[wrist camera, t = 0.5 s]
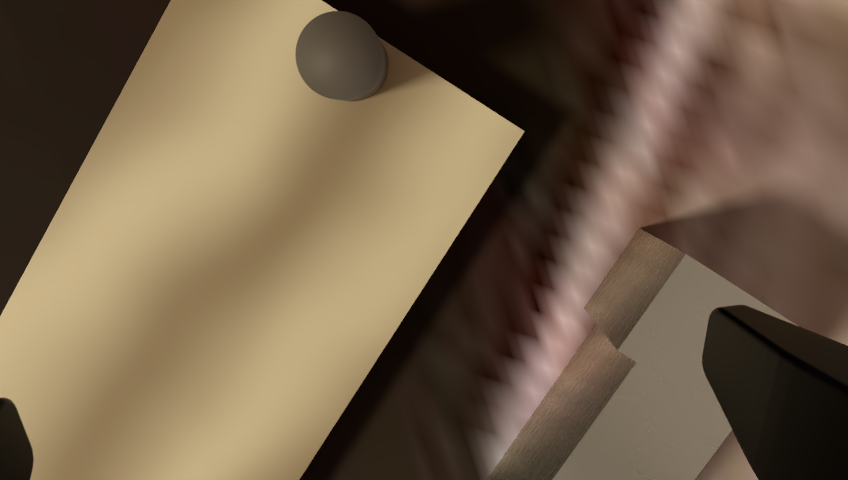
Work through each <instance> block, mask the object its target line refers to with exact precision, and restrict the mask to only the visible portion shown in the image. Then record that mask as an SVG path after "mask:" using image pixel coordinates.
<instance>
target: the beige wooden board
mask: <svg viewBox="0 0 848 480" xmlns="http://www.w3.org/2000/svg"><path fill="white" fill-rule="evenodd" d="M523 133H524V131H523V130H522V129H520V128H519V127H517V126H516V125H514V124H513V123H511V122H509V121H508V120H506V119H505V118H503V117H502V116H500V115H499V114H497V113H496V112H494V111H492V110H491V109H489V108H488V107H486V106H485V105H483V104H482V103H480V102H478V101H477V100H475V99H474V98H472V97H471V96H469V95H468V94H466V93H465V92H463V91H461V90H460V89H458V88H457V87H455V86H454V85H452V84H451V83H449V82H447V81H446V80H444V79H443V78H441V77H440V76H438V75H437V74H435V73H434V72H432V71H430V70H429V69H427V68H426V67H424V66H423V65H421V64H420V63H418V62H416V61H415V60H413V59H412V58H410V57H409V56H407V55H406V54H404V53H403V52H401V51H399V50H398V49H396V48H395V47H393V46H392V45H390V44H389V43H387V42H386V41H384V40H382V39H381V38H379V37H378V36H377V35H376V33H375V32H374V30H373V29H372V28H371V26H370V25H369V24H368V23H367V22H366V21H364V20H363V19H362V18H360V17H358V16H357V15H355V14H352V13H349V12H345V11H337V10H336V9H334V8H333V7H331V6H330V5H328V4H327V3H325V2H324V1H322V0H171V1H170V3H169V5H168V7H167V9H166V11H165V12H164V14H163V16H162V18H161V20H160V22H159V24H158V25H157V27H156V29H155V31H154V33H153V35H152V36H151V38H150V40H149V42H148V44H147V46H146V48H145V49H144V51H143V53H142V55H141V57H140V59H139V61H138V62H137V64H136V66H135V68H134V70H133V72H132V74H131V75H130V77H129V79H128V81H127V83H126V85H125V86H124V88H123V90H122V92H121V94H120V96H119V98H118V99H117V101H116V103H115V105H114V107H113V109H112V111H111V112H110V114H109V116H108V118H107V120H106V122H105V124H104V125H103V127H102V129H101V131H100V133H99V135H98V136H97V138H96V140H95V142H94V144H93V146H92V148H91V149H90V151H89V153H88V155H87V157H86V159H85V161H84V162H83V164H82V166H81V168H80V170H79V172H78V174H77V175H76V177H75V179H74V181H73V183H72V185H71V187H70V188H69V190H68V192H67V194H66V196H65V198H64V199H63V201H62V203H61V205H60V207H59V209H58V211H57V212H56V214H55V216H54V218H53V220H52V222H51V224H50V225H49V227H48V229H47V231H46V233H45V235H44V237H43V238H42V240H41V242H40V244H39V246H38V248H37V249H36V251H35V253H34V255H33V257H32V259H31V261H30V262H29V264H28V266H27V268H26V270H25V272H24V274H23V275H22V277H21V279H20V281H19V283H18V285H17V287H16V288H15V290H14V292H13V294H12V296H11V298H10V299H9V301H8V303H7V305H6V307H5V309H4V311H3V312H2V314H1V316H0V398H2V397H5V398H8V399H10V400H12V402H13V403H14V404H15V406H16V408H17V410H18V413H19V415H20V418H21V420H22V423H23V425H24V428H25V431H26V433H27V436H28V438H29V441H30V443H31V446H32V449H33V457H34V462H33V470H32V474H31V479H30V480H299V479H300V478H301V476H302V475H303V473H304V472H305V470H306V469H307V467H308V465H309V464H310V462H311V461H312V459H313V458H314V456H315V455H316V453H317V452H318V450H319V448H320V447H321V445H322V444H323V442H324V441H325V439H326V438H327V436H328V435H329V433H330V431H331V430H332V428H333V427H334V425H335V424H336V422H337V421H338V419H339V418H340V416H341V414H342V413H343V411H344V410H345V408H346V407H347V405H348V404H349V402H350V401H351V399H352V397H353V396H354V394H355V393H356V391H357V390H358V388H359V387H360V385H361V384H362V382H363V380H364V379H365V377H366V376H367V374H368V373H369V371H370V370H371V368H372V367H373V365H374V363H375V362H376V360H377V359H378V357H379V356H380V354H381V353H382V351H383V349H384V348H385V346H386V345H387V343H388V342H389V340H390V339H391V337H392V336H393V334H394V332H395V331H396V329H397V328H398V326H399V325H400V323H401V322H402V320H403V319H404V317H405V315H406V314H407V312H408V311H409V309H410V308H411V306H412V305H413V303H414V302H415V300H416V298H417V297H418V295H419V294H420V292H421V291H422V289H423V288H424V286H425V285H426V283H427V281H428V280H429V278H430V277H431V275H432V274H433V272H434V271H435V269H436V268H437V266H438V264H439V263H440V261H441V260H442V258H443V257H444V255H445V254H446V252H447V251H448V249H449V247H450V246H451V244H452V243H453V241H454V240H455V238H456V237H457V235H458V234H459V232H460V230H461V229H462V227H463V226H464V224H465V223H466V221H467V220H468V218H469V216H470V215H471V213H472V212H473V210H474V209H475V207H476V206H477V204H478V203H479V201H480V199H481V198H482V196H483V195H484V193H485V192H486V190H487V189H488V187H489V186H490V184H491V182H492V181H493V179H494V178H495V176H496V175H497V173H498V172H499V170H500V169H501V167H502V165H503V164H504V162H505V161H506V159H507V158H508V156H509V155H510V153H511V152H512V150H513V148H514V147H515V145H516V144H517V142H518V141H519V139H520V138H521V136H522V135H523Z"/></svg>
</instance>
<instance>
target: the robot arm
mask: <svg viewBox="0 0 848 480" xmlns="http://www.w3.org/2000/svg"><path fill="white" fill-rule="evenodd" d="M702 365H703V370H704V373H705V376H706V378H707V380H708V382H709V384H710V386H711V388H712V390H713V392H714V394H715V396H716V398H717V400H718V402H719V404H720V406H721V408H722V410H723V412H724V414H725V416H726V418H727V420H728V422H729V424H730V426H731V428H732V430H733V432H734V434H735V436H736V438H737V440H738V442H739V444H740V446H741V449H742V451H743V453H744V454H745V456H746V458H747V460H748V462H749V464H750V466H751V468H752V469H753V471H754V473H755V474H756V476H757V478H758V479H759V480H848V346H847V345H844V344H842V343H839V342H837V341H834V340H832V339H829V338H827V337H824V336H822V335H819V334H817V333H814V332H812V331H809V330H806V329H804V328H801V327H799V326H796V325H794V324H791V323H789V322H786V321H784V320H781V319H779V318H776V317H774V316H771V315H769V314H766V313H764V312H761V311H759V310H756V309H754V308H751V307H749V306H746V305H733V306H725V307H718V308H715V309H714V310H713V311H712V312H711V314H710V316H709V320H708V325H707V331H706V337H705V342H704V348H703V354H702ZM33 462H34V457H33V449H32V446H31V443H30V441H29V438H28V436H27V433H26V431H25V428H24V425H23V423H22V420H21V418H20V415H19V413H18V410H17V408H16V406H15V404H14V403H13V402H12V400H10V399H8V398H5V397H2V398H0V480H30V479H31V474H32V470H33Z"/></svg>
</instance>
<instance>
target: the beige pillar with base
mask: <svg viewBox="0 0 848 480" xmlns="http://www.w3.org/2000/svg"><path fill="white" fill-rule="evenodd" d="M733 305H746V306H749V307H751V308H754V309H756V310H759V311H761V312H764V313H766V314H769V315H771V316H774V317H776V318H779V319H781V320H784V321H786V322H789V323H791V324H794V325H796V324H795V323H793V322H791V321H790V320H788V319H787V318H785V317H784V316H782V315H781V314H779V313H777V312H776V311H774V310H773V309H771V308H770V307H768V306H767V305H765V304H763V303H762V302H760V301H759V300H757V299H756V298H754V297H753V296H751V295H749V294H748V293H746V292H745V291H743V290H742V289H740V288H739V287H737V286H735V285H734V284H732V283H731V282H729V281H728V280H726V279H724V278H723V277H721V276H720V275H718V274H717V273H715V272H714V271H712V270H710V269H709V268H707V267H706V266H704V265H703V264H701V263H700V262H698V261H696V260H695V259H693V258H692V257H690V256H689V255H687V254H685V253H684V252H682V251H680V250H678V249H676V248H675V247H673V246H671V245H669V244H667V243H666V242H664V241H662V240H660V239H658V238H656V237H655V236H653V235H651V234H649V233H647V232H646V231H644V230H642V229H640V228H639V229H638V231H637V232H636V234H635V235H634V237H633V238H632V239H631V241H630V242H629V244H628V245H627V247H626V248H625V250H624V251H623V252H622V254H621V255H620V257H619V258H618V260H617V261H616V263H615V264H614V265H613V267H612V268H611V270H610V271H609V273H608V274H607V276H606V277H605V278H604V280H603V281H602V283H601V284H600V286H599V287H598V289H597V290H596V291H595V293H594V294H593V296H592V297H591V299H590V300H589V302H588V303H587V304H586V306H585V307H584V309H585V310H586V311H587V313H588V314H589V315H590V316H591V318H592V319H593V320H594V321H595V323H596V324H595V325H594V327H593V328H592V330H591V331H590V333H589V334H588V336H587V337H586V338H585V340H584V341H583V343H582V344H581V346H580V347H579V348H578V350H577V351H576V353H575V354H574V356H573V357H572V358H571V360H570V361H569V363H568V364H567V366H566V367H565V368H564V370H563V371H562V373H561V374H560V376H559V377H558V378H557V380H556V381H555V383H554V384H553V386H552V387H551V389H550V390H549V391H548V393H547V394H546V396H545V397H544V399H543V400H542V401H541V403H540V404H539V406H538V407H537V409H536V410H535V411H534V413H533V414H532V416H531V417H530V419H529V420H528V421H527V423H526V424H525V426H524V427H523V429H522V430H521V431H520V433H519V434H518V436H517V437H516V439H515V440H514V441H513V443H512V444H511V446H510V447H509V449H508V450H507V452H506V453H505V454H504V456H503V457H502V459H501V460H500V462H499V463H498V464H497V466H496V467H495V469H494V470H493V472H492V473H491V474H490V476H489V477H488V479H487V480H695V478H696V477H697V476H698V474H699V473H700V472H701V470H702V469H703V468H704V467H705V465H706V464H707V463H708V461H709V460H710V459H711V457H712V456H713V455H714V453H715V452H716V451H717V449H718V448H719V447H720V445H721V444H722V443H723V441H724V440H725V439H726V437H727V436H728V435H729V433H730V432H731V431H732V428H731V426H730V424H729V422H728V420H727V418H726V416H725V414H724V412H723V410H722V408H721V406H720V404H719V402H718V400H717V398H716V396H715V394H714V392H713V390H712V388H711V386H710V384H709V382H708V380H707V378H706V376H705V373H704V370H703V365H702V354H703V348H704V342H705V337H706V331H707V325H708V320H709V316H710V314H711V312H712V311H713V310H714V309H715V308H718V307H725V306H733ZM796 326H798V325H796Z"/></svg>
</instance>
